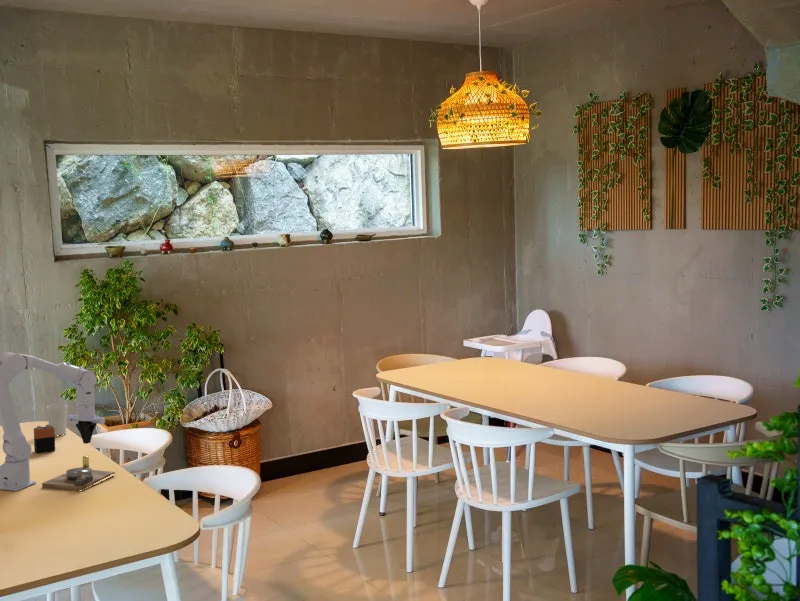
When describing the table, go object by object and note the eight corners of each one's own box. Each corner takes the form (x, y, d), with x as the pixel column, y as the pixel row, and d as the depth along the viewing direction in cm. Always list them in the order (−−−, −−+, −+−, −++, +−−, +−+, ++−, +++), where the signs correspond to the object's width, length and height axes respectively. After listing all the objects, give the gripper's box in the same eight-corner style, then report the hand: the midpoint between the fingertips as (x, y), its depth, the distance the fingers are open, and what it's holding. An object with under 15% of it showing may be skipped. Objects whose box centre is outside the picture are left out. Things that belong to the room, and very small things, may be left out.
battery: (55, 451, 327) (54, 425, 327) (36, 453, 324) (35, 427, 323) (53, 448, 331) (52, 423, 330) (34, 451, 327) (33, 425, 326)
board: (81, 491, 276) (80, 478, 276) (42, 487, 281) (41, 474, 280) (115, 476, 294) (114, 464, 293) (77, 472, 298) (77, 460, 298)
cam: (87, 479, 283) (86, 464, 283) (62, 479, 283) (62, 465, 283) (98, 470, 295) (98, 455, 294) (75, 470, 294) (74, 456, 294)
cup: (61, 437, 349) (60, 408, 348) (43, 436, 351) (42, 407, 350) (72, 432, 357) (71, 404, 356) (55, 432, 359) (54, 403, 358)
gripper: (110, 403, 298) (111, 442, 299) (77, 400, 303) (78, 438, 304) (96, 407, 291) (97, 446, 292) (62, 404, 296) (64, 442, 298)
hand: (86, 442), depth 298 cm, fingers closed
